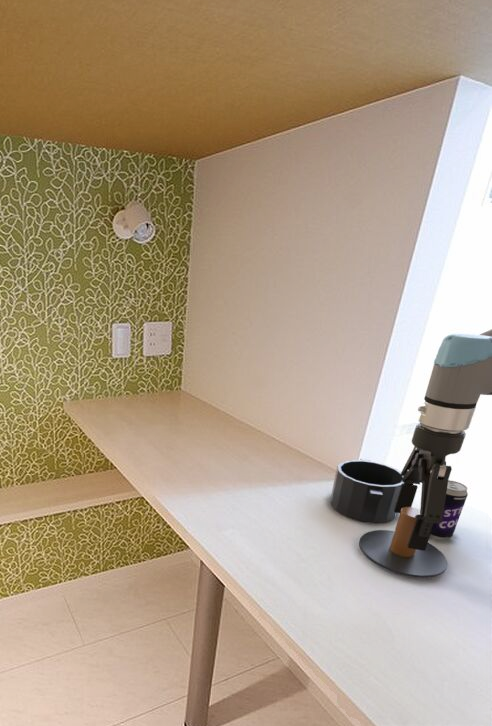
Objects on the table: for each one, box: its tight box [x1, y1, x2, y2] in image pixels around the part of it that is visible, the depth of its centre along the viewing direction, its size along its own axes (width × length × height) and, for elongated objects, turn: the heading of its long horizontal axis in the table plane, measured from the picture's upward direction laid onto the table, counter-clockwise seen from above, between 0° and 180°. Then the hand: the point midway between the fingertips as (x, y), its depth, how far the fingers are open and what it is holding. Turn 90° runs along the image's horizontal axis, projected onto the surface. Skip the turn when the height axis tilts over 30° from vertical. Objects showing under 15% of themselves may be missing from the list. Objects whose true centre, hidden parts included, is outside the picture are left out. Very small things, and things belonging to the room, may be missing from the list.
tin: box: [329, 458, 404, 525], centre depth 104 cm, size 15×20×10 cm
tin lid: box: [358, 506, 449, 579], centre depth 86 cm, size 16×16×10 cm
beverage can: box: [430, 479, 469, 540], centre depth 93 cm, size 6×6×12 cm
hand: (408, 529), depth 85 cm, fingers open, 13 cm apart
